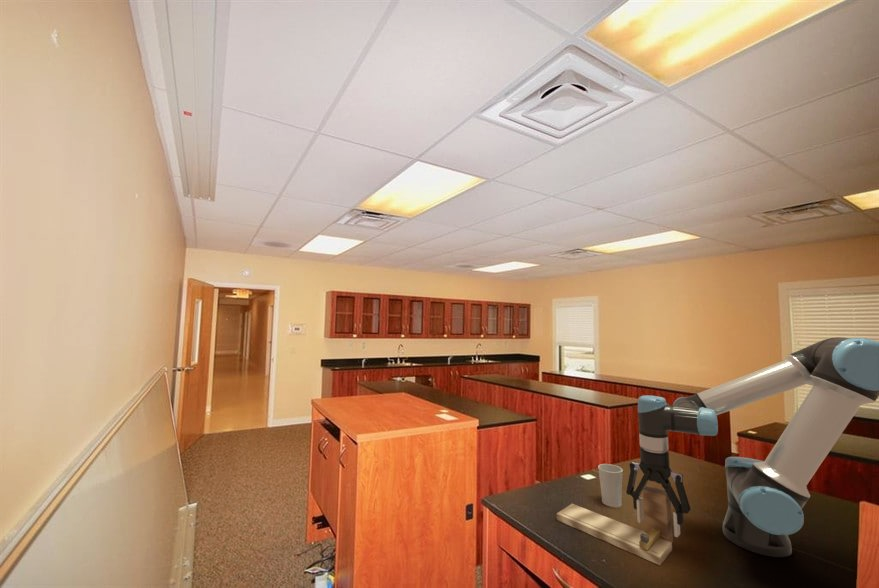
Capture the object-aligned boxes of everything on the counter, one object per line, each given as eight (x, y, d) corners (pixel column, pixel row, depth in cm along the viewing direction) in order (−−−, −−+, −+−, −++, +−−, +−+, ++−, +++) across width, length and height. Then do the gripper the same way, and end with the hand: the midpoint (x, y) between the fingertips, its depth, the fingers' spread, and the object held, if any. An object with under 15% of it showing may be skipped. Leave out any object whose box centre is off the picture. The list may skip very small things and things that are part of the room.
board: (672, 549, 101) (671, 542, 101) (660, 565, 94) (659, 557, 94) (572, 509, 123) (572, 503, 123) (556, 519, 117) (556, 513, 117)
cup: (598, 505, 126) (597, 469, 127) (600, 495, 133) (598, 462, 134) (624, 510, 122) (622, 474, 124) (624, 500, 129) (622, 466, 131)
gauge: (672, 542, 104) (670, 492, 106) (656, 563, 95) (653, 507, 96) (650, 533, 109) (647, 485, 110) (632, 552, 100) (629, 499, 101)
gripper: (700, 455, 102) (706, 539, 100) (621, 438, 118) (624, 509, 116) (693, 462, 97) (699, 550, 95) (611, 443, 113) (615, 517, 111)
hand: (658, 527), depth 106 cm, fingers open, 9 cm apart
